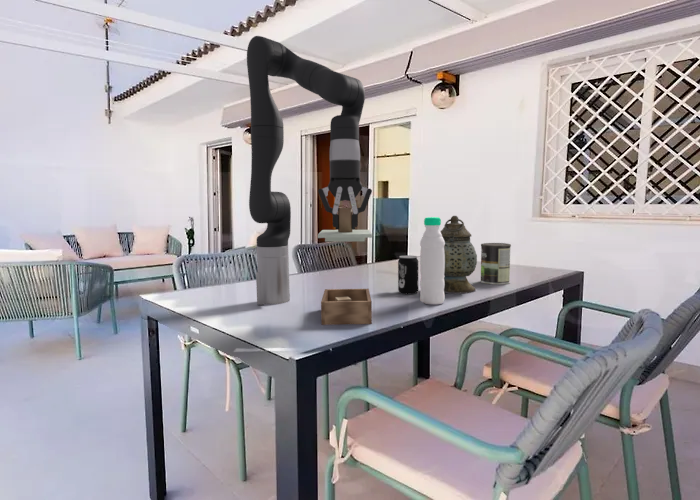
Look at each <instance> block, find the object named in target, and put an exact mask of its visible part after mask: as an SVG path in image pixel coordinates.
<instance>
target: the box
mask: <svg viewBox="0 0 700 500" xmlns="http://www.w3.org/2000/svg"><path fill="white" fill-rule="evenodd" d="M370 293H371V292H370V289H369V288H329V289H324V291H323V294H322V297H321V298H322V299H321V300H320V315H321V316H320V318H321V319H320V321H321V323H320V324H321V325H322V326H327V325H328V326H329V325H331V326H332V325H372V324H373V322H372V321H373V314H372V313H373V312H372V311H373V308H372V307H373V306H372V305H373V304H372V297H371V294H370ZM347 296H348V297H349V298H351V301H335V297H347Z"/></svg>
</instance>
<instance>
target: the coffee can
mask: <svg viewBox="0 0 700 500" xmlns="http://www.w3.org/2000/svg"><path fill="white" fill-rule="evenodd" d="M480 247H481V248H480V249H481V251H480V282H481V283H482V284H485V285H491V284H492V286H493V285H494V286H495V285H496V286H497V285H498V286H500V285H501V286H502V285H503V286H504V285H509V284H510V283H511V282H510V281H511V280H510V272H511V271H510V270H511V247H512V245H511V244H510V243H505V242H504V243H503V242H486V243H485V242H484V243H481V244H480Z"/></svg>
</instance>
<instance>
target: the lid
mask: <svg viewBox="0 0 700 500" xmlns="http://www.w3.org/2000/svg"><path fill="white" fill-rule="evenodd" d="M352 214H353V210H352V207H339V208H338V229H322V230H321V231H320V232H319V233H318V234H317V239H324V242H325V243H326V242H366V239H367V238H368V239H369V238H373V234H372V232H371V231H370V229H352Z"/></svg>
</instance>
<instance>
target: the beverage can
mask: <svg viewBox="0 0 700 500" xmlns="http://www.w3.org/2000/svg"><path fill="white" fill-rule="evenodd" d="M397 269H398V270H397V271H398V272H397V276H398V277H397V278H398V279H397V282H398V283H397V284H398V285H397V290H398V292H399V293H400V294H403V295H416V294H417V293H418V292H419V259H418V256H417V255H411V254H410V255H399V259H398V262H397Z"/></svg>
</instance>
